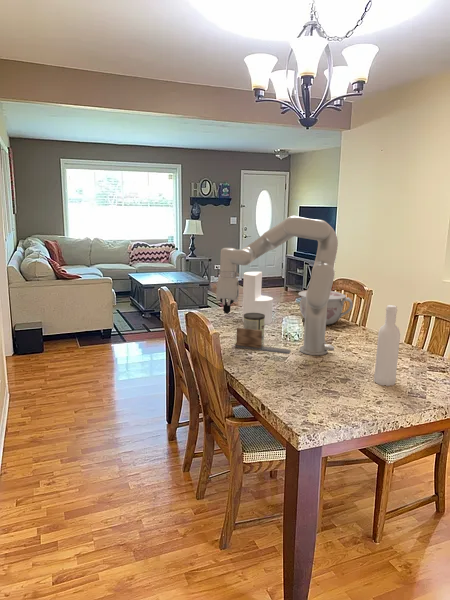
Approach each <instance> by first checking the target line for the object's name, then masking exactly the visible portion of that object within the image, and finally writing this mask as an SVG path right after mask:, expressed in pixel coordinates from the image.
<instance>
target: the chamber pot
mask: <svg viewBox="0 0 450 600" xmlns="http://www.w3.org/2000/svg"><path fill="white" fill-rule="evenodd" d="M307 290H308V289H306V290H302V291H299V292H298V293H297V295H298V296H300V297H301V299H300V301H299V308H300V309H299V310H300V313H301V315H302V317H303V319H304V320H305V312H306V292H307ZM344 302H348V303H349V308H348V309H347V310H346V311H344V312H343V306H345V305H344ZM353 302H354V301H352V298H350V297H347V295H346V294H345V293H341V292H339V291H334V290H331V293H330V297H329V300H328V303H327V316H326V326H329V325H332V324H335V323H336V322H337V321H339V320H340V319H341V318H342V317H343V316H345V315H346V314H348V313H349V312H350V311H352V310H353V308H354V304H353Z"/></svg>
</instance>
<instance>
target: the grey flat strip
mask: <svg viewBox="0 0 450 600" xmlns="http://www.w3.org/2000/svg"><path fill="white" fill-rule="evenodd" d="M235 348H240V349H248V350H249V349H250V350H256V351H264V352H272V353H273V352H274V353H281V354H288V355H289V354H290V353H291V349H287V348H278V347H271V346H263V345H262V347H261V348H256V347H247V346H239V345H236V344H235Z"/></svg>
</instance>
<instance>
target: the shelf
mask: <svg viewBox="0 0 450 600" xmlns="http://www.w3.org/2000/svg"><path fill="white" fill-rule="evenodd" d="M236 345H239V346H247V347H256V348H261V347H262V346H263V345H262V330H253V329H244V327H243V328H242V327H237V328H236V343H235V346H236Z"/></svg>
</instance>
